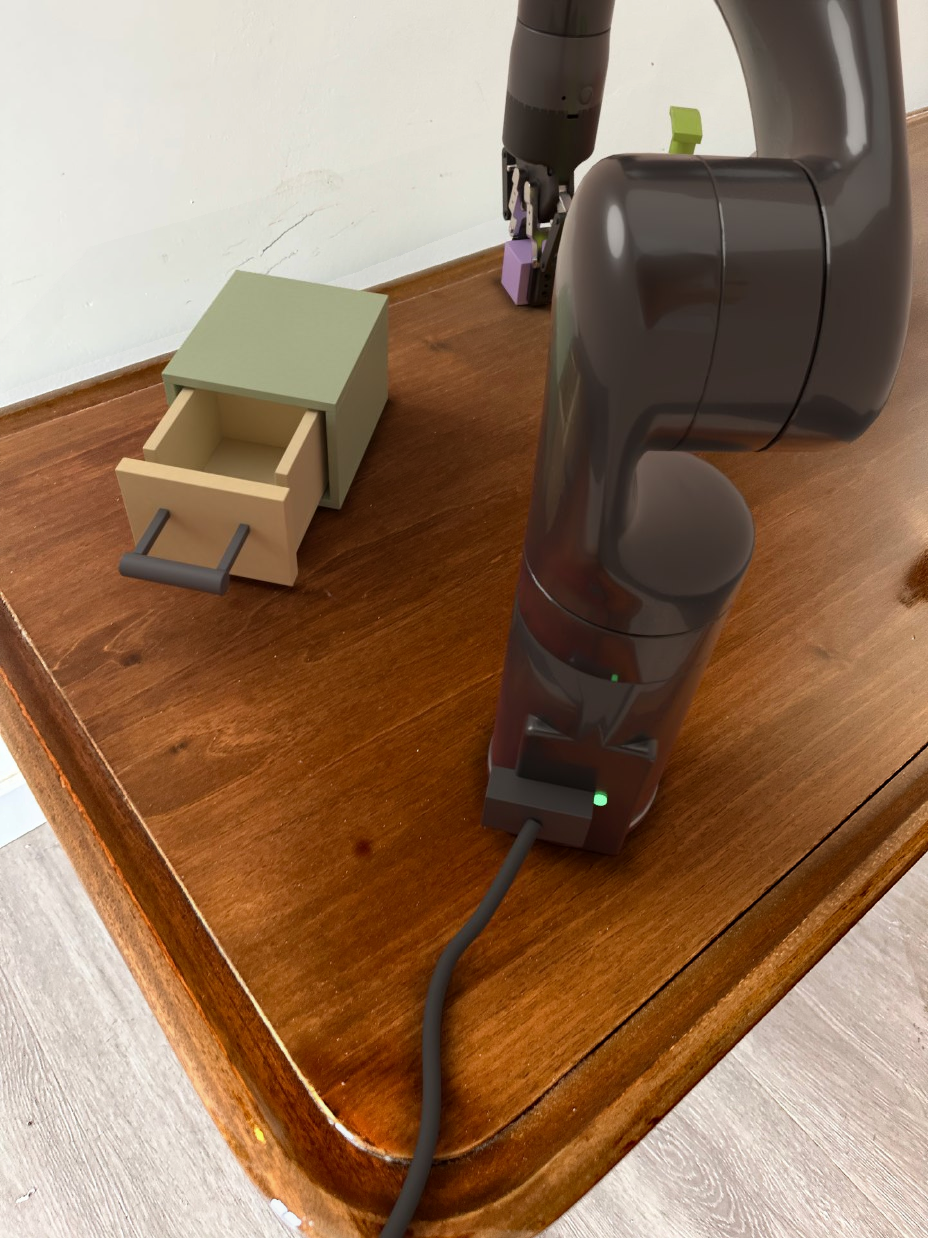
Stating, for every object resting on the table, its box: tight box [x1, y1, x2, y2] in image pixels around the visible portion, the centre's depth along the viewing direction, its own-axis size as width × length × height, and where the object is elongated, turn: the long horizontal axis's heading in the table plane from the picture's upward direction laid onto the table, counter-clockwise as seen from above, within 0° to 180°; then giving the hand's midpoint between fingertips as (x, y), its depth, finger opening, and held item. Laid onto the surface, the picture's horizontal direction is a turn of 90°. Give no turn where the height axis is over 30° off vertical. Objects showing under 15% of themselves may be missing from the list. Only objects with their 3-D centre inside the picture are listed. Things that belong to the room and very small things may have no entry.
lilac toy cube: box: [500, 239, 553, 306], centre depth 85 cm, size 4×4×4 cm
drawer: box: [114, 386, 329, 596], centre depth 60 cm, size 18×10×7 cm, turn 169°
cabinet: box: [161, 269, 390, 510], centre depth 67 cm, size 13×11×9 cm
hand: (529, 288), depth 86 cm, fingers closed on lilac toy cube, 4 cm apart
